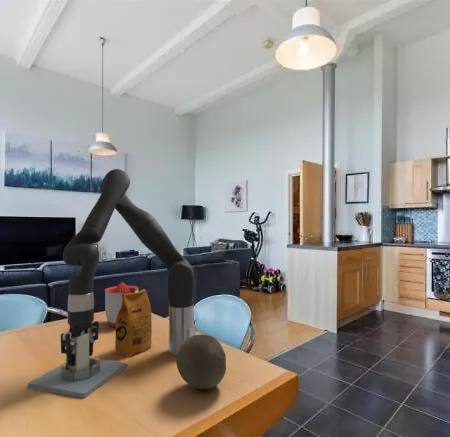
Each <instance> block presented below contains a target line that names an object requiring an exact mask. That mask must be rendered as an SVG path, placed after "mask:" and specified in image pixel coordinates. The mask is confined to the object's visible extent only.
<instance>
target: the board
mask: <svg viewBox="0 0 450 437" xmlns="http://www.w3.org/2000/svg"><path fill="white" fill-rule="evenodd" d="M65 363H66V362H64V363H63V364H65ZM127 367H128V363H127V362H124V361H123V362H122V361H116V360H109V359H102V358H100V372H99V373H97V374H96V375H94V376H93V377H91V378H89V379H84V380H80V381H75V382H72V381H66V380H62V379H61V365H59V366H57V367H55V368H54V369H51V370H50V371H48V372H46V373H44V374H42V375H41V376H39V377H37V378H35V379H34V380H32V381H29V382H28V383H27V388H29V389H34V390H39V391H44V392H51V393H55V394H61V395H67V396H72V397H77V398H82V399H85V398H86V397H88V396H89V395H91V394H92V393H93V392H95V391H97V389H99V388H100V387H102V386H103V385H105V383H107V382H109V381H110V380H112V379H113V378H115V376H117V375H118V374H120V372H122V371H123V370H125V369H126V368H127ZM89 368H90V366H89Z"/></svg>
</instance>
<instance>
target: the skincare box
mask: <svg viewBox="0 0 450 437" xmlns="http://www.w3.org/2000/svg"><path fill="white" fill-rule="evenodd" d="M71 342H76V343H77V346H76V351H75V353H76V358H75V365H74V366H68V364H67V354H65V363H66V370H71V371H79V370H84V369H88V368H89V357H90V356H89V334H88V333H85V334H84V335H83V336H80V337H75V338H74V337H73V339H72V338H71ZM72 348H73V345H72V347H71V349H72Z"/></svg>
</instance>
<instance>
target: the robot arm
mask: <svg viewBox="0 0 450 437" xmlns="http://www.w3.org/2000/svg"><path fill="white" fill-rule="evenodd" d="M99 185H100V186H99V191H100V193H101V194H100V196H99V198H98V199H97V201H96V202H95V204H94V206H93V208H92V209H91V211H90V212H89V214H88V216H87V217H86V219H85V221H84V223H83V225H82V226H81V229H80V230H79V232H78V233H76V234H75V236H74V237H72V238H71V240H70V241H69V242H68V243H67V245H66V246H65V247H64V249H63V253H62V259H63V262H64V263H65V264H66V265H67V266H71V267H81V270H80V272H77V273H74V274H72V275H70V277H69V279H68V297H67V298H68V299H67V324H68V326H69V329H68V331H67V332H66V333H65V332H62V333H61V334H60V353H61V354H63V355H64V354H65V355H66V354H67V364H68V366H74V365H75V358H76V353H75V351H76V346H77V343H76V342H71V338H72V339H73V337H74V338H75V337H80V336H83V335H84V334H85V333H88V334H89V357H93V355H94V344H95V341H97V340H99V331H100V330H99V326H100V325H99V323H100V322H99V321H95V296H94V277H95V274H96V271H97V266H98V264H99V262H100V260H99V259H100V250H99V248H98V246H96V245H95V244H97V243H99V242H101V241H102V239H103V236H104V234H105V232H106V229H107V228H108V225H109V223H110V221H111V217H112V215H113V213H114V211H115V210H116V211H117V213H118V214H120V216H121V217H122V218H123V219H124V221H125V223H127V225H128V226H129V228H130V229H131V230H132V232H133V233H134V234H135V236H136V237H137V238H138V240H140V242H141V243H142V244H143V245H144V247H146V248H147V249H148V250H149V251H150V252H151V253H152V254H154V255H155V256H156V257H157V258H158V259H159V260H160V261H161V263H162V264H163V265H164V267H165V269H166V270H167V272H168V274H167V298H168V352H169V354H170V355H172V356H177V353H178V350H179V348H180V347H181V345H182V344H183V343H184V342H185V340H187V339H188V338H189V337H191V336H194V335H197V333H196V332H197V331H196V330H197V327H196V326H197V325H196V323H195V321H194V320H195V319H194V318H195V317H194V316H195V312H194V311H195V310H194V309H195V308H194V307H195V306H194V305H195V303H194V302H195V298H194V276H195V269H194V266H192V264H191V263H190V262H189V261H188V260H187V259H186V258H185V257H184V256H183V255H182V254H181V253H180V252H179V251H178V249H177V248H176V247H175V246H174V244H173V242H172V240H171V239H170V238H169V236H168V234H167V233H166V232H165V230H164V228H163V227H162V226H161V225H160V224H159V222H158V220H156V218H155V217H154V216H153V215H152V214H150V213H149V212H148V211H146V210H144V209H141V208H140V207H138V206H137V205H136V204H134V203H133V202H132V199H131V198H129V196H128V194H127V193H126V192H127V191H128V189H129V188H130V185H131V178H130V176H129V174H128V173H127V172H126V171H124V170H122V169H119V168H115V169H112V170H108V172H107V173H106V174H105V176H104V177H103V179H102V181H101V182H100V184H99ZM72 345H73V348H72V349H71V347H72Z"/></svg>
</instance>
